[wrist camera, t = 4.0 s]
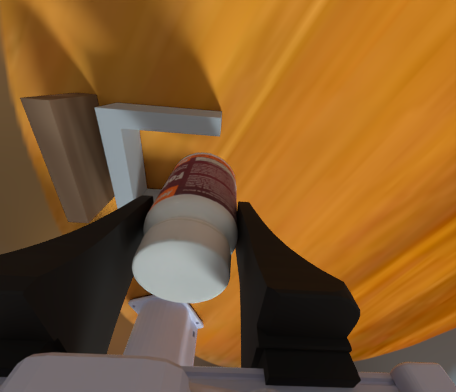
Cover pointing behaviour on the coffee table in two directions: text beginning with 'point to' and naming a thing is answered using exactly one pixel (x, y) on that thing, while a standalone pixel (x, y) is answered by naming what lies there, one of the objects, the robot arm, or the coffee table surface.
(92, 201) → the wall
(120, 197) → the cradle
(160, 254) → the pill bottle
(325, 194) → the coffee table surface
